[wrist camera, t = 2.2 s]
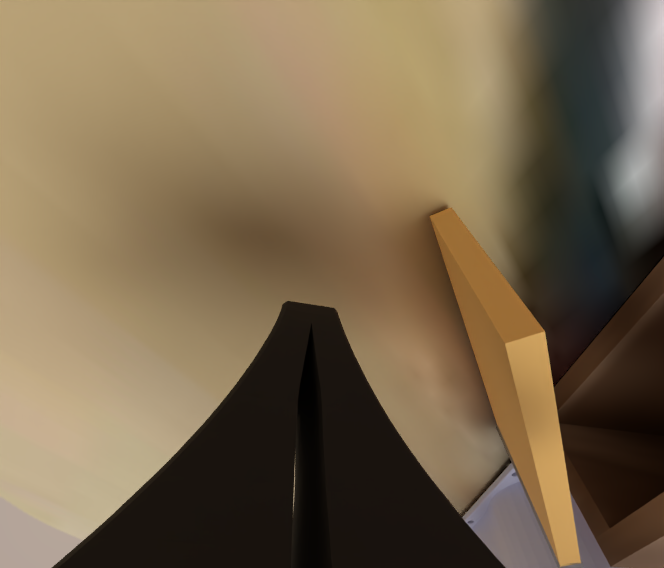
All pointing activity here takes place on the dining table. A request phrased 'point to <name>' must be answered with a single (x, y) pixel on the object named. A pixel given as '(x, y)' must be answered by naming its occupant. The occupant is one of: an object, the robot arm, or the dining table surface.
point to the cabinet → (620, 430)
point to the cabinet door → (513, 381)
